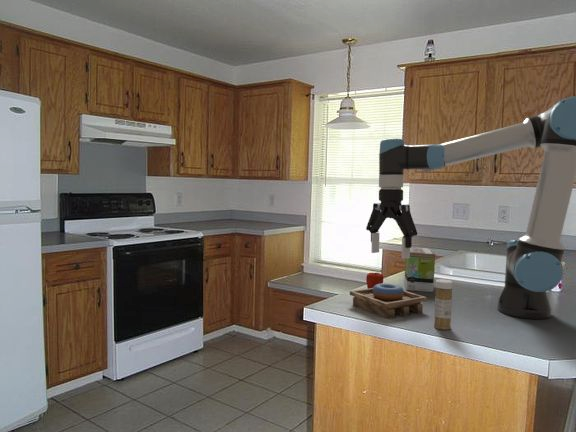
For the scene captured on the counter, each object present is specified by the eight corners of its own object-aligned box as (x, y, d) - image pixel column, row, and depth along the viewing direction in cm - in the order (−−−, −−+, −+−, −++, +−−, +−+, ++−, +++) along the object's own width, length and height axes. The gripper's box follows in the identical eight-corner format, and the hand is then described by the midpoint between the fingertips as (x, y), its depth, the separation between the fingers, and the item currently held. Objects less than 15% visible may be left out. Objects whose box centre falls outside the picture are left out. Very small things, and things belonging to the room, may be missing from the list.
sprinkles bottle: (446, 325, 126) (448, 278, 125) (453, 330, 121) (455, 282, 120) (431, 325, 126) (433, 278, 125) (437, 330, 121) (439, 282, 120)
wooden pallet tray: (425, 311, 139) (426, 297, 138) (385, 319, 130) (386, 303, 130) (387, 299, 153) (388, 285, 153) (349, 305, 144) (349, 291, 144)
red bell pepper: (374, 295, 158) (374, 275, 157) (362, 291, 163) (362, 271, 162) (386, 293, 161) (387, 273, 160) (374, 289, 166) (375, 270, 166)
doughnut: (381, 290, 149) (382, 277, 148) (409, 297, 142) (409, 284, 141) (366, 299, 141) (366, 285, 140) (394, 307, 135) (395, 292, 134)
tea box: (434, 292, 164) (435, 253, 163) (406, 290, 166) (407, 252, 165) (429, 283, 179) (431, 247, 178) (404, 282, 181) (405, 246, 180)
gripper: (430, 188, 130) (428, 259, 131) (373, 188, 151) (372, 249, 153) (412, 188, 126) (411, 262, 128) (356, 188, 147) (355, 251, 149)
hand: (389, 255), depth 140 cm, fingers open, 13 cm apart
